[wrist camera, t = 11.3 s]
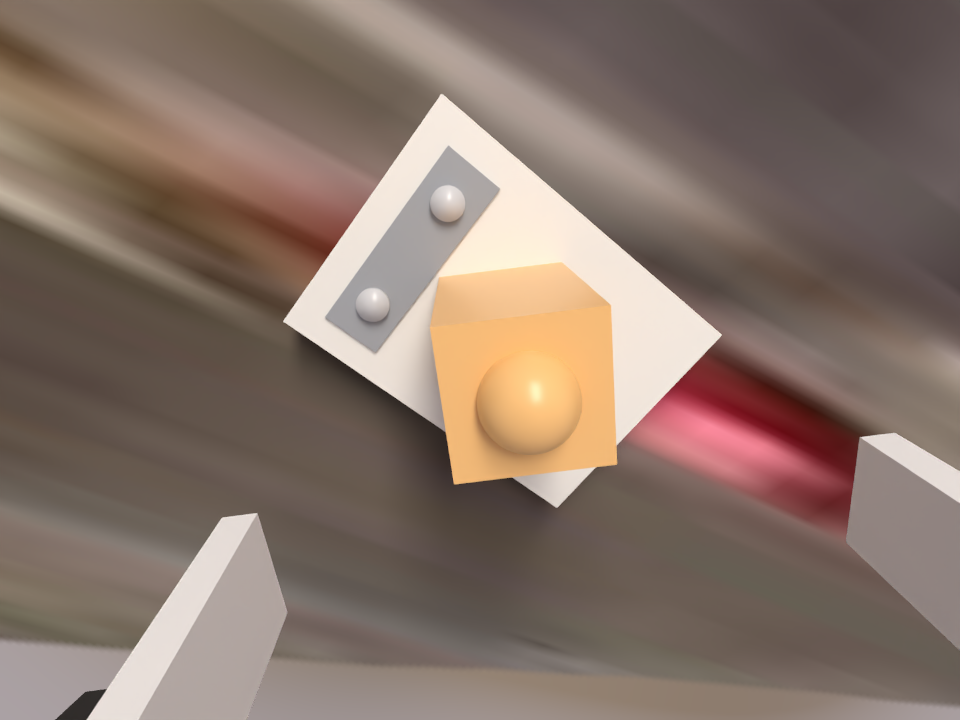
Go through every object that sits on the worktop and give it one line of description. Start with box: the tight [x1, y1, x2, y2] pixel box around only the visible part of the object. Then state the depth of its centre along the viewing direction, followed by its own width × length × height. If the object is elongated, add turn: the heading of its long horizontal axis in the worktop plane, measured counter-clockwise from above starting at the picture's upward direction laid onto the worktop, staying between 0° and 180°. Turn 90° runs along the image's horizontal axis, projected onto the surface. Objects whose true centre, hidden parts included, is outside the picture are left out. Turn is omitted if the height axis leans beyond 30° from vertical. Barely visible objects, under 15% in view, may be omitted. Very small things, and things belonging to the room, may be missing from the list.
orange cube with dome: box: [430, 262, 617, 484], centre depth 22 cm, size 6×6×11 cm
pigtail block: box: [283, 94, 722, 508], centre depth 27 cm, size 18×13×7 cm
